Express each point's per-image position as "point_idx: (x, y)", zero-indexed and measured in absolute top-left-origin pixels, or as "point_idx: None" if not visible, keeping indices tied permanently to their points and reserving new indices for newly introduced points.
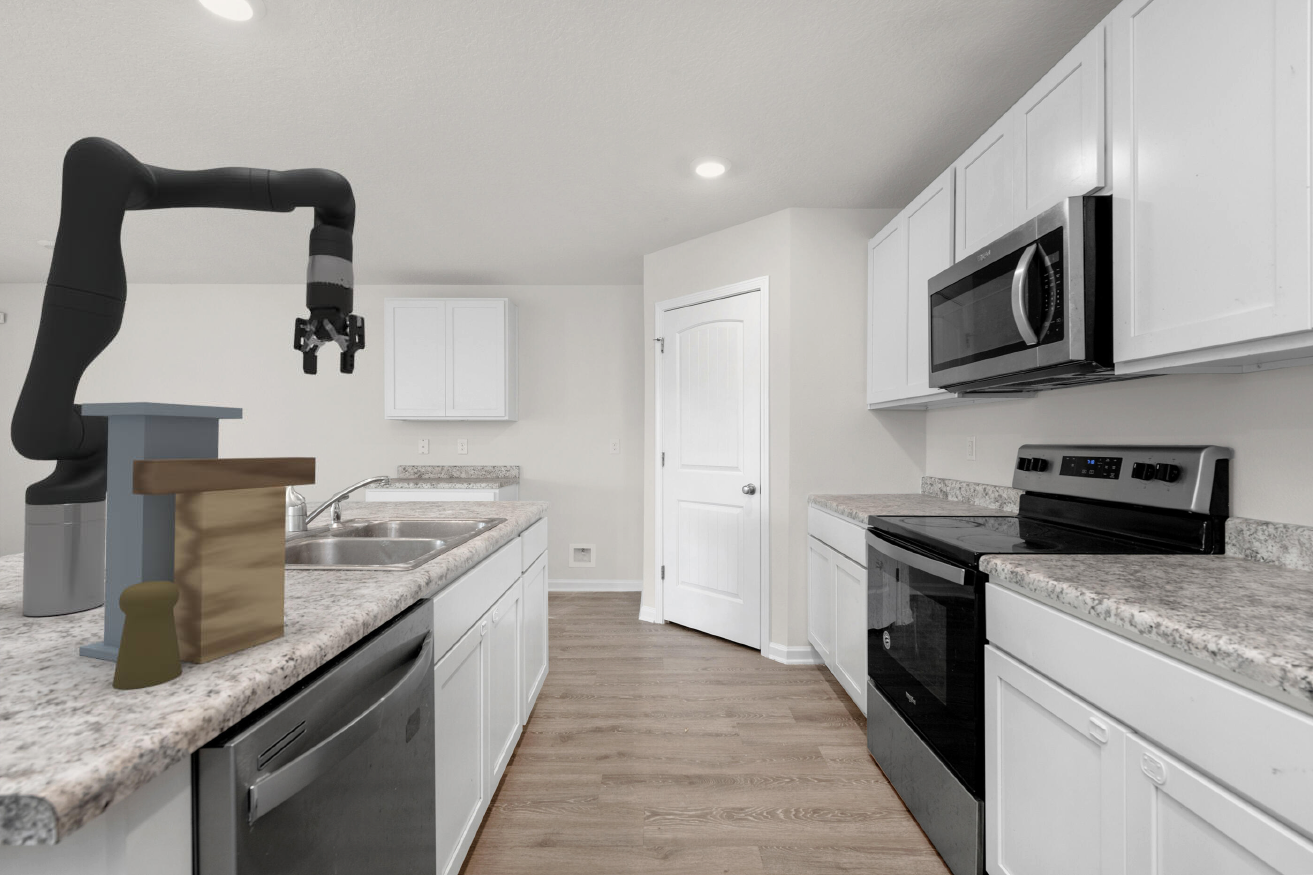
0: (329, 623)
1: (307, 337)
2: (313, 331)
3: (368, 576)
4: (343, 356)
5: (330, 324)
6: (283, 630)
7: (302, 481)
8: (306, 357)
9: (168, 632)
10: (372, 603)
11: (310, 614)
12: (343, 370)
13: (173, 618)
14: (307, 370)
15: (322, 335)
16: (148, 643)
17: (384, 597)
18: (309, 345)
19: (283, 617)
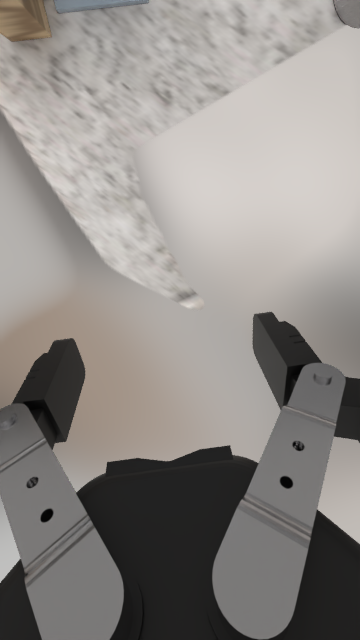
0: (23, 107)
1: (305, 431)
2: (259, 486)
3: (179, 269)
4: (33, 385)
5: (28, 581)
6: (9, 39)
7: None
8: (281, 351)
9: None
10: (66, 190)
11: (77, 123)
12: (54, 343)
13: None
14: (256, 320)
15: (184, 479)
16: None
17: (79, 214)
18: (289, 404)
19: (2, 34)
